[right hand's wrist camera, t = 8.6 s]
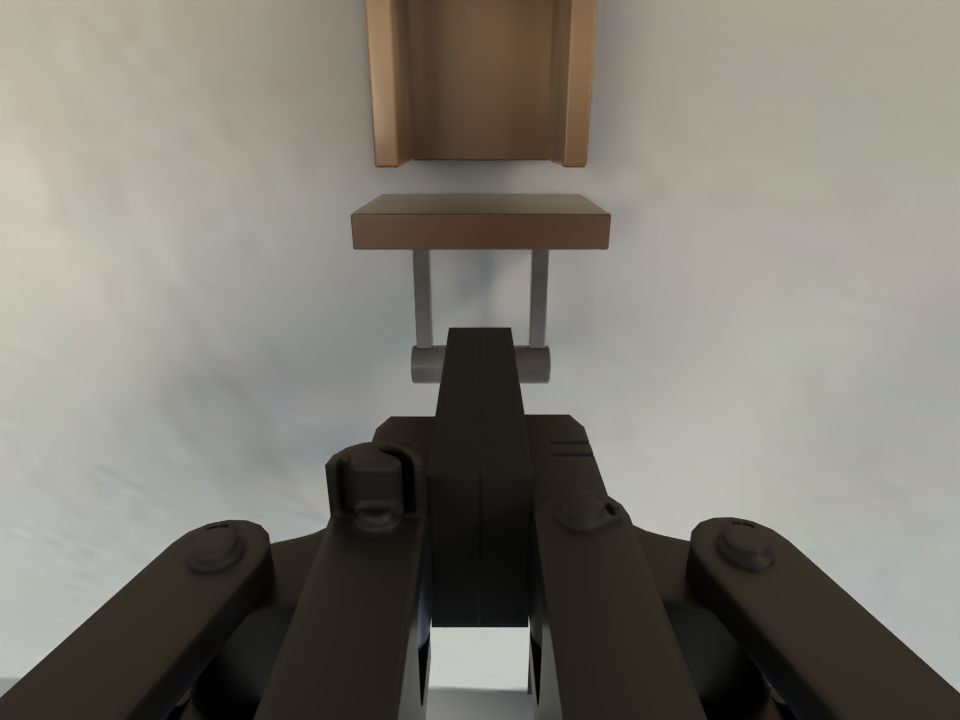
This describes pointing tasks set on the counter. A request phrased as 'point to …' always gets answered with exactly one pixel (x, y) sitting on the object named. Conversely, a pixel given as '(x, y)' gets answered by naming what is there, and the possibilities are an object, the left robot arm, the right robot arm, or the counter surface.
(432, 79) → the drawer
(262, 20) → the counter surface
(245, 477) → the counter surface
